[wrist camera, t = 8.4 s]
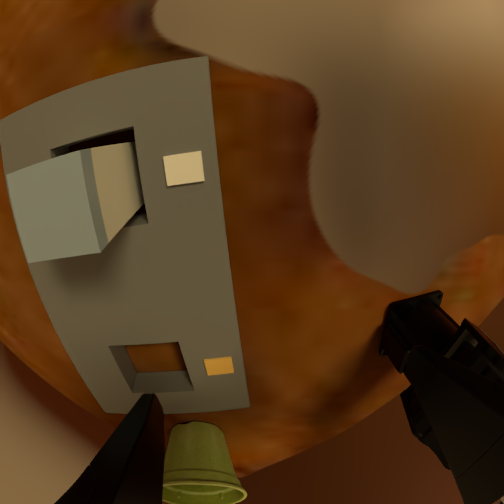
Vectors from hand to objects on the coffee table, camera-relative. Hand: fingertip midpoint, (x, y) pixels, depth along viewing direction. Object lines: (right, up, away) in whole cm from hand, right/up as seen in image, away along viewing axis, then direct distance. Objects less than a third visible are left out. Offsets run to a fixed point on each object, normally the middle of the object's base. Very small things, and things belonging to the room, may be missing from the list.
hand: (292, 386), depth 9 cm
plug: (-10, +9, +8) cm, 16 cm away
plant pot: (-8, -16, +19) cm, 26 cm away
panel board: (-10, +3, +11) cm, 15 cm away
